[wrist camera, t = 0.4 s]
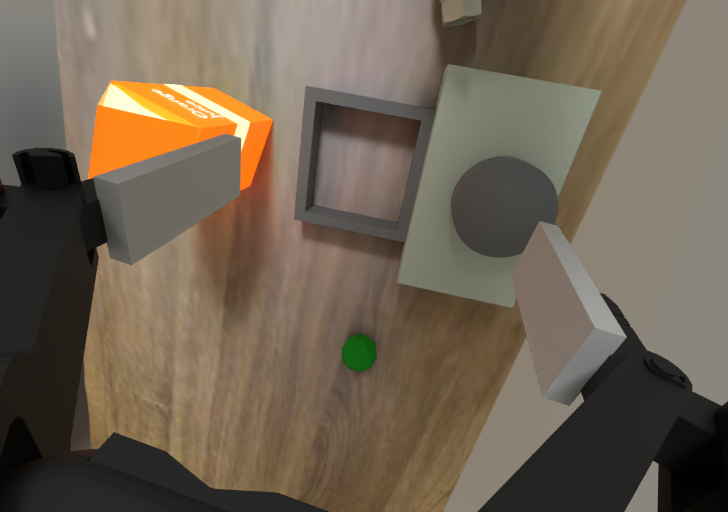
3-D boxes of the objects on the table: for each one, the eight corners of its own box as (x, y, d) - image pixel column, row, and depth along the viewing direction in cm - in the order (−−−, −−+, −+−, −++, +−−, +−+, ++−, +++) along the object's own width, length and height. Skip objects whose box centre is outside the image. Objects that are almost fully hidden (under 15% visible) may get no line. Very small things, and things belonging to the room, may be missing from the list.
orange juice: (274, 119, 40) (154, 133, 22) (250, 187, 44) (131, 246, 26) (212, 86, 40) (38, 72, 22) (193, 157, 43) (32, 196, 25)
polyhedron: (355, 322, 50) (348, 342, 45) (384, 338, 50) (381, 360, 46) (339, 345, 52) (332, 367, 48) (368, 361, 52) (363, 384, 48)
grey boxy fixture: (317, 47, 37) (288, 31, 28) (573, 92, 35) (620, 89, 27) (299, 239, 46) (273, 269, 38) (501, 282, 44) (519, 323, 36)
